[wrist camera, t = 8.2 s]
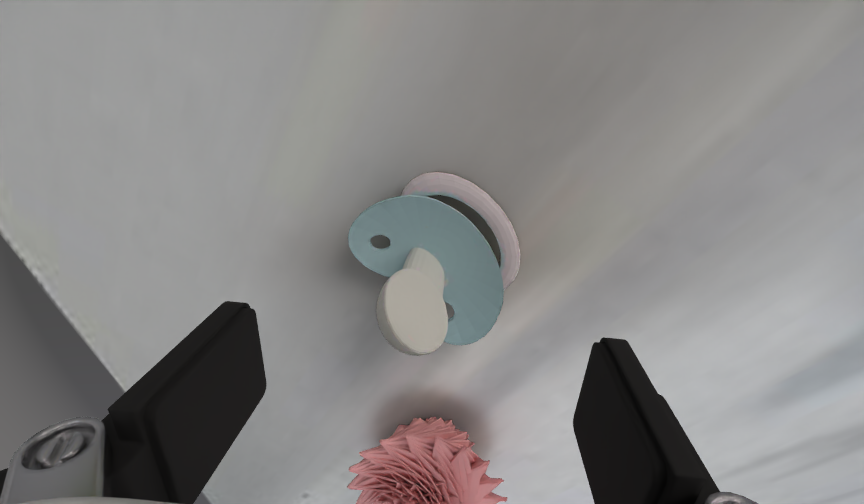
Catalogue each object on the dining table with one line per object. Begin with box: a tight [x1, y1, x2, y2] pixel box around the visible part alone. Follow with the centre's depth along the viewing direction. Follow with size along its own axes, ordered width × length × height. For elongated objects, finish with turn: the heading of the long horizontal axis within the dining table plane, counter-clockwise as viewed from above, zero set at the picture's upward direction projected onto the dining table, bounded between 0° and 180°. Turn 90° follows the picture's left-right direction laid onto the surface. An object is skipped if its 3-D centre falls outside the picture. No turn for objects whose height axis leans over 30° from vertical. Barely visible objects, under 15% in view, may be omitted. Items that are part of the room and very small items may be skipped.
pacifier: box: [348, 172, 521, 356], centre depth 15 cm, size 7×6×6 cm
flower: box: [347, 417, 507, 504], centre depth 21 cm, size 8×8×6 cm
